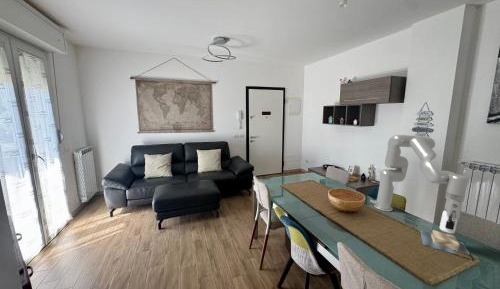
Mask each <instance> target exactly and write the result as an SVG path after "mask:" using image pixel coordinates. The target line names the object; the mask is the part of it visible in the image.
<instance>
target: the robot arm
mask: <svg viewBox="0 0 500 289" xmlns="http://www.w3.org/2000/svg"><path fill="white" fill-rule="evenodd" d="M435 147H436V142H435V140H434V139H433V138H432V137H427V136H419V135H406V134H397V135H396V134H395V135H393V136H391V137H390V138H389V139H388V141H387V150H386V155H385V160H384V166H385V167H386V169H382V170H381V171H380V172H379V186H378V192H377V197H376V200H373V199H370V200H369V202H370V203H372V204H373V207H374V208H376V209H378V210H380V211H383V212H392V211H393V208H392V207H391V206H392V200H393V195H394V190H395V189H394V188H395V187H394V184H393V183H394V182H395V183H400V182H403V181H404V180H405V179H406V177H407V171H408V168H409V160H408V159H407V157H405V156H402V155H401V154H402V151H401V148H412V150H413V152H415V155H417V157H418V158H419V159H420V162H419V163H420V166H419V167H420V171H421V172H422V174H423V176H424V177H425V178H426V180H427V181H429V182H430V183H432V184H438V185H439V184H444V185H445V184H446V185H447V186H446V190H445V196H444V198H445V199H446V201H445V204H444V209H445V210H446V213H447V216H448V221H447V222H446V226H445V227H446V228H447V229H451V230H453V229H454V225H455V220H456V218H457V219H458V220H459V219H460V218H461V212H462V211H461V210H462V203H463V202H464V201H465V196H466V192H467V188H468V183H469V178H468V177H467V176H465V175H462V174H458V173H455V172H452V171H450V170H437V169H436V168H435V167H434V165H433V163H432V161H433V160H434V159H435V158H436V157H437V153H436V152H435V150H434V148H435ZM387 168H388V169H387ZM444 209H443V210H444ZM450 215H452V217H450ZM450 218H451V219H450Z"/></svg>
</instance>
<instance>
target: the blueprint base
mask: <svg viewBox="0 0 500 289" xmlns="http://www.w3.org/2000/svg"><path fill="white" fill-rule="evenodd" d="M420 233H421V234H420ZM419 234H420V237H421V240H422V245H423V246H425V247H428V248H432V249H434V248H435V250H437V249H439V250H438V251H440V250H443V251H446V252H445V253H447V252H450V253H454V254H457V252H455V251H453V250H456V251H458V249H460V250H461V251H463V252H465V253H468V254H470V255H471V253H470V252H469V250H468V249H467V246H466V245H465V244H464V242H462V241H459V240H458V239H457V238H456V236H455V235H453V234H450V233H446V232H443V231H437V230H435V229H432V230H431V232H428V231H426V230H425V231H424V230H422V229H420V230H419ZM443 251H442V252H443ZM450 253H449V254H450ZM459 255H460V254H459Z"/></svg>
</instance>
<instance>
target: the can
mask: <svg viewBox="0 0 500 289" xmlns="http://www.w3.org/2000/svg"><path fill="white" fill-rule="evenodd" d="M450 217H452V215H450ZM450 219H451V218H450ZM447 221H448V216H447V213H446V210H445V209H443V211H442V215H441V218H440V223H439V228H438V229H439V230H440V231H441V232H443V233H445V234H449V235H453V234H455V233H456V229H457V225H458V221H459V219H457V218H456V220H455V225H454V229H453V230H451V229H447V228H446V227H445V226H446V222H447Z"/></svg>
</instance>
